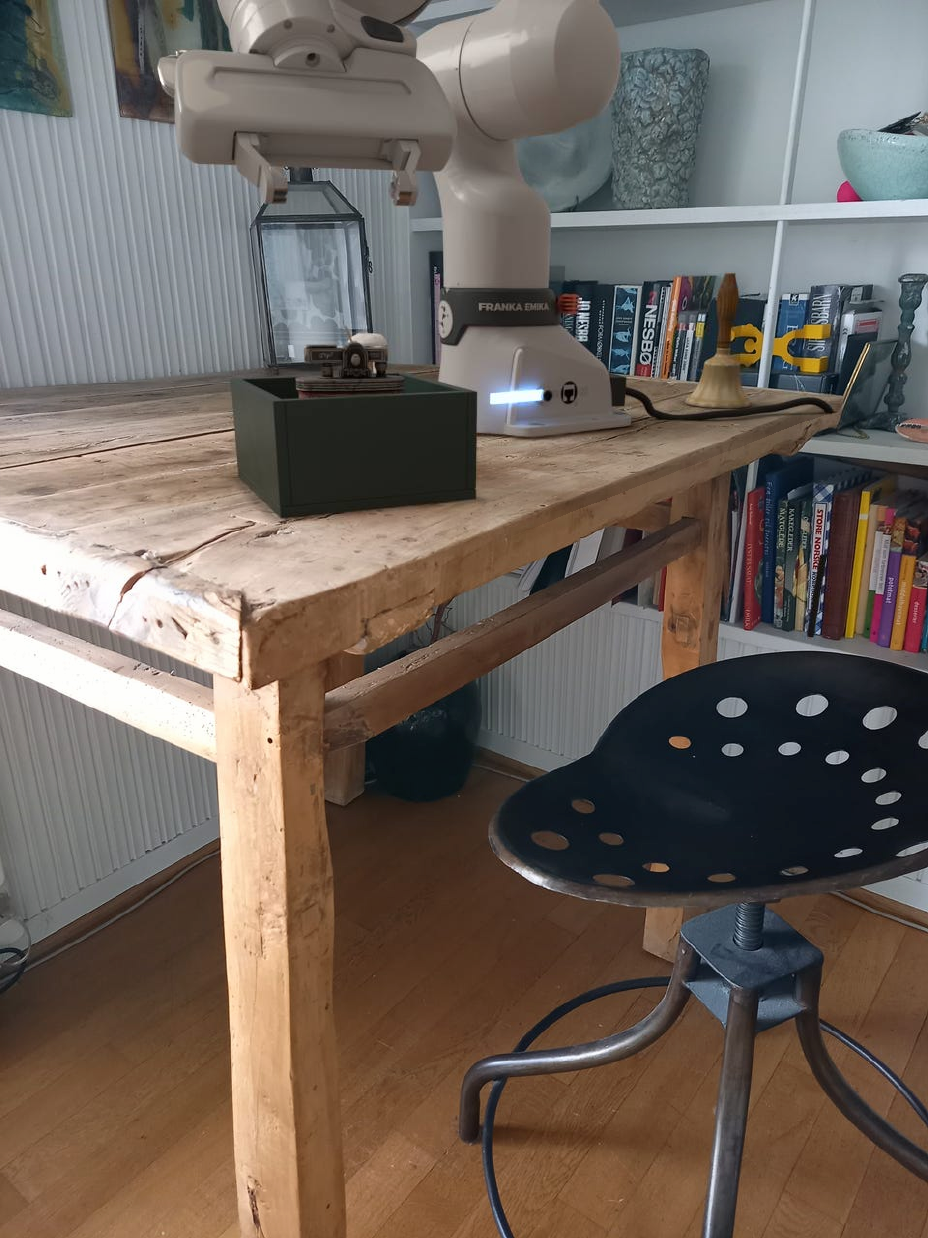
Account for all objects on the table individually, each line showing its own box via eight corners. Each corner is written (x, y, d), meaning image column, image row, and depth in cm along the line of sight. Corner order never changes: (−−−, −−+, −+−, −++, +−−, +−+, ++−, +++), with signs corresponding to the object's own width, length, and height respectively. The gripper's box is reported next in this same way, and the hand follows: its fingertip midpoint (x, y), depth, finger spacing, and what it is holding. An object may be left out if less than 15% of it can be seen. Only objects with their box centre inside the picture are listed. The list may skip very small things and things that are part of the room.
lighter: (402, 470, 72) (400, 340, 68) (408, 479, 69) (406, 343, 65) (300, 474, 71) (293, 340, 67) (301, 483, 68) (293, 344, 64)
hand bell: (740, 410, 112) (756, 272, 106) (676, 405, 116) (688, 272, 110) (758, 402, 119) (773, 273, 113) (696, 398, 123) (708, 272, 117)
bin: (405, 463, 79) (404, 371, 76) (476, 499, 67) (477, 391, 64) (238, 476, 73) (229, 378, 71) (280, 518, 61) (272, 401, 58)
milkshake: (337, 412, 108) (333, 324, 104) (373, 408, 111) (371, 323, 107) (359, 417, 104) (357, 326, 101) (396, 412, 108) (394, 325, 104)
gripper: (151, 4, 61) (191, 152, 56) (432, 31, 68) (488, 163, 64) (152, 91, 66) (189, 232, 61) (413, 107, 74) (463, 233, 69)
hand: (343, 197), depth 63 cm, fingers open, 8 cm apart
